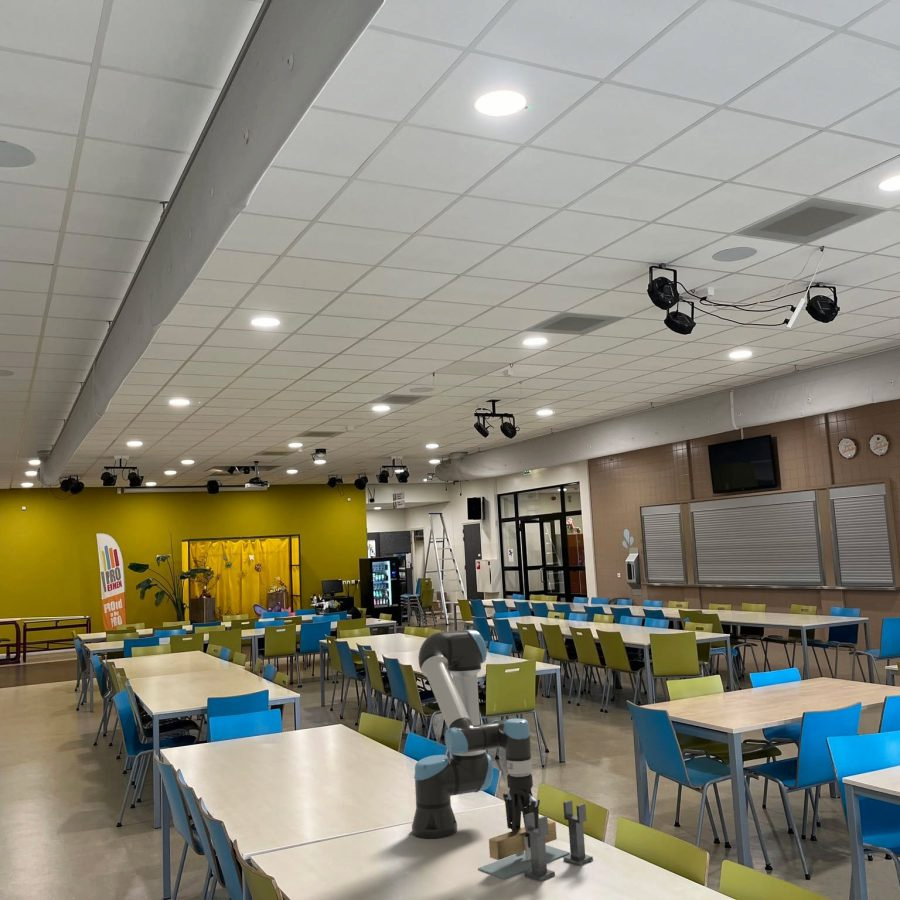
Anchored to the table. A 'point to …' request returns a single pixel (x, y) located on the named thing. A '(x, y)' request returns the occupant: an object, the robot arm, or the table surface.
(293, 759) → the table surface
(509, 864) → the mat
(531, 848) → the rack
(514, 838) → the rail
